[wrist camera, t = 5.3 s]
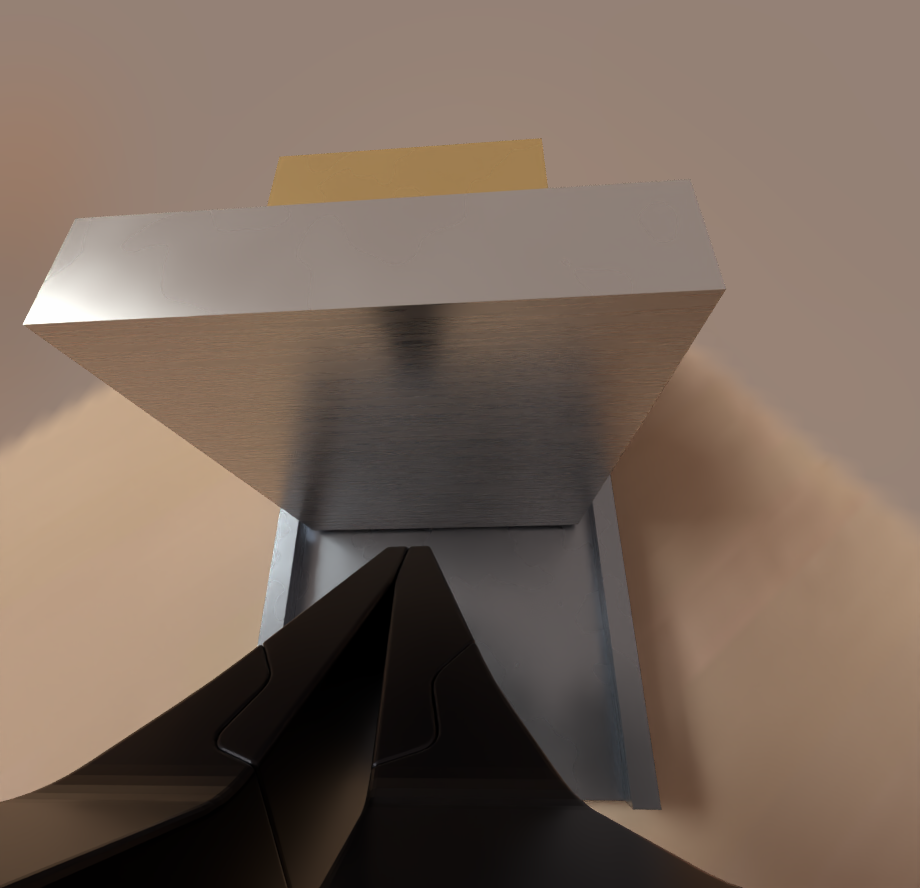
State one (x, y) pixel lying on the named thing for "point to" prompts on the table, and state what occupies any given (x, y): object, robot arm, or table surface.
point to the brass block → (409, 172)
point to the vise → (519, 629)
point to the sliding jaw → (397, 342)
